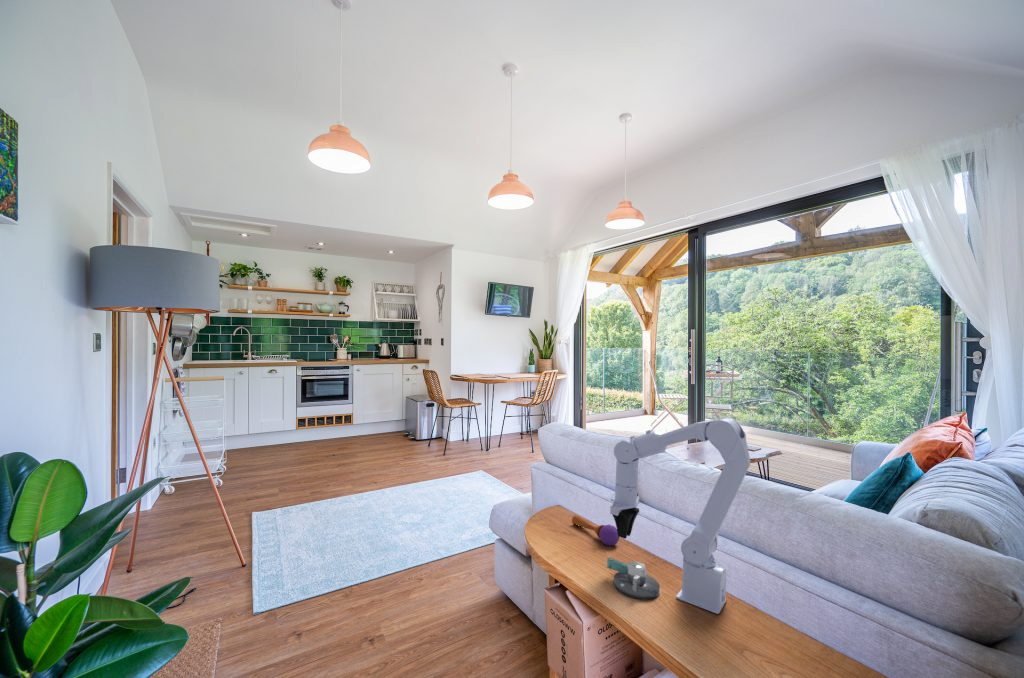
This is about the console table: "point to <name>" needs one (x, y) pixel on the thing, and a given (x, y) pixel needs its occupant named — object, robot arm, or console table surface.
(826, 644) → the console table surface
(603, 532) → the purple maraca
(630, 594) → the post plate
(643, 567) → the teal ball-top lever
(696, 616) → the console table surface
